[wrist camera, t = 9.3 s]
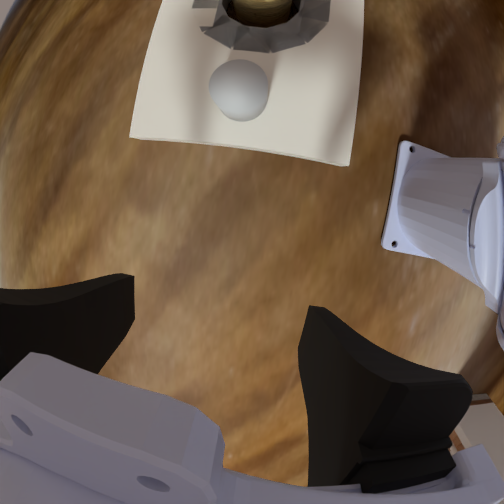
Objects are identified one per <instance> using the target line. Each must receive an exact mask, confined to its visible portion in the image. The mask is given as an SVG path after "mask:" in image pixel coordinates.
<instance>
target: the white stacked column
mask: <svg viewBox="0 0 504 504" xmlns="http://www.w3.org/2000/svg"><path fill="white" fill-rule="evenodd" d="M449 437H450V439H451V441H452V446H451V447H450V448H449V449H448V450H449V452H450V454H451V456H452V455H454V454H455V453H457V452H458V451H460V450H463V449H466V448H469V447H472V446H475V445H478V444H483V446H484V448H485V449H486V451H487V453H488V454H489V456H490V458H491V460H492V461H493V463H494V465H495V467H496V469H497V470H498V472H499V474H500V476H501V478H502V480H503V481H504V416H503V415H502V413H501V412H500V411H499V409H498V408H497V407H496V405H495V404H494V403H493V401H492V400H491V399H490V398H489V396H488V395H487V394H475V395H472V401H471V404H470V406H469V409H468V410H467V412H466V414H465V415H464V417H463V418H462V420H461V421H460V422H459V424H458V425H457V426H456V428H455V429H454V430H453V432H452V433H451V434H450V436H449ZM498 504H504V499H503V500H501V501H500V502H499V503H498Z"/></svg>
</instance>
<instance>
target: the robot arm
mask: <svg viewBox="0 0 504 504" xmlns="http://www.w3.org/2000/svg"><path fill="white" fill-rule="evenodd" d="M410 146H411V147H412V148H413V152H412V153H411V152H410V150H409V148H410ZM497 153H498V157H499V158H451V157H449V156H446V155H444V154H441V153H439V152H436V151H434V150H431V149H429V148H426V147H423V146H420V145H418V144H415V143H412V142H409V141H401V142H400V143H399V147H398V154H397V161H396V168H395V174H394V180H393V186H392V192H391V197H390V202H389V207H388V212H387V217H386V222H385V226H384V231H383V235H382V239H381V245H382V247H383V248H385V249H387V250H392V251H397V252H402V253H407V254H412V255H418V256H423V257H428V258H432V259H436V260H438V261H439V262H441V263H443V264H444V265H446V266H447V267H449V268H451V269H452V270H454V271H456V272H457V273H459V274H460V275H462V276H463V277H465V278H467V279H468V280H470V281H471V282H473V283H474V284H476V285H477V286H479V287H480V288H482V289H483V290H484V293H485V305H486V306H488V307H489V308H490V309H492V310H493V311H494V312H496V313H497V314H498V319H497V324H496V335H497V339H498V342H499V344H500V346H501V348H502V349H503V350H504V136H503V138H502V140H501V143H498V144H497ZM393 241H396V244H395V245H394V246H392V242H393ZM134 320H135V306H134V276H132V275H127V274H123V273H118V274H112V275H107V276H103V277H99V278H95V279H91V280H87V281H83V282H78V283H74V284H69V285H64V286H59V287H52V288H43V289H3V288H0V504H498V503H499V502H500V501H501V500H503V499H504V481H503V480H502V478H501V476H500V474H499V472H498V470H497V469H496V467H495V465H494V463H493V461H492V460H491V458H490V456H489V454H488V453H487V451H486V449H485V448H484V446H483V444H478V445H475V446H472V447H469V448H466V449H463V450H460V451H458V452H457V453H455V454H454V455H452V456H451V454H450V452H449V450H448V449H449V448H450V447H451V446H452V441H451V439H450V437H449V436H450V434H451V433H452V432H453V430H454V429H455V428H456V426H457V425H458V424H459V422H460V421H461V420H462V418H463V417H464V415H465V414H466V412H467V410H468V409H469V406H470V404H471V401H472V393H473V391H472V389H471V387H470V385H469V384H468V383H467V381H466V380H465V379H464V378H463V376H462V375H460V374H455V373H450V372H445V371H440V370H435V369H432V368H428V367H425V366H422V365H418V364H416V363H413V362H410V361H408V360H405V359H403V358H401V357H398V356H396V355H394V354H392V353H390V352H388V351H386V350H384V349H382V348H380V347H379V346H377V345H375V344H373V343H372V342H370V341H369V340H367V339H366V338H364V337H363V336H361V335H360V334H359V333H357V332H356V331H355V330H353V329H352V328H351V327H349V326H348V325H347V324H346V323H344V322H343V321H342V320H341V319H339V318H338V317H337V316H336V315H334V314H333V313H332V312H330V311H329V310H328V309H326V308H324V307H318V306H310V305H309V308H308V312H307V316H306V320H305V324H304V328H303V331H302V335H301V339H300V342H299V346H298V363H299V372H300V377H301V383H302V388H303V393H304V398H305V404H306V409H307V417H308V436H309V469H308V487H301V486H296V485H290V484H285V483H280V482H275V481H271V480H266V479H262V478H258V477H254V476H250V475H247V474H243V473H240V472H236V471H233V470H229V469H226V468H223V463H222V462H223V455H224V449H225V443H224V440H223V437H222V434H221V430H220V427H219V426H218V425H217V424H215V423H214V422H213V421H212V420H210V419H209V418H208V417H207V416H206V415H205V414H203V413H202V412H201V411H200V410H199V409H197V408H196V407H195V406H192V405H190V404H187V403H184V402H182V401H180V400H177V399H175V398H172V397H170V396H167V395H164V394H160V393H157V392H153V391H149V390H145V389H142V388H138V387H135V386H131V385H128V384H125V383H122V382H118V381H115V380H112V379H109V378H106V377H103V376H100V375H98V373H99V372H100V370H101V369H102V367H103V366H104V365H105V363H106V362H107V360H108V359H109V358H110V356H111V355H112V354H113V353H114V351H115V350H116V349H117V347H118V346H119V345H120V343H121V342H122V341H123V339H124V338H125V336H126V335H127V333H128V331H129V329H130V327H131V325H132V323H133V322H134Z"/></svg>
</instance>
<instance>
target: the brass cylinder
mask: <svg viewBox="0 0 504 504" xmlns="http://www.w3.org/2000/svg"><path fill="white" fill-rule="evenodd" d="M291 4H292V0H233V5H234V9H235V14H236V17H237V19H238V21H239V22H240V23H241V24H243V25H244V26H252V27H261V28H269V27H273V26H276V25H280V24H284V23H286V22H287V20H288V18H289V16H290V11H291Z"/></svg>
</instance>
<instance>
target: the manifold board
mask: <svg viewBox="0 0 504 504" xmlns="http://www.w3.org/2000/svg"><path fill="white" fill-rule="evenodd" d="M231 1H232V0H163V1H162V4H161V7H160V10H159V13H158V16H157V19H156V22H155V25H154V29H153V32H152V35H151V39H150V42H149V46H148V50H147V53H146V57H145V61H144V65H143V69H142V73H141V78H140V82H139V87H138V91H137V96H136V101H135V107H134V112H133V118H132V123H131V130H130V136H129V137H132V138H136V139H141V140H159V141H174V142H187V143H198V144H208V145H217V146H226V147H234V148H242V149H249V150H256V151H262V152H269V153H275V154H281V155H287V156H292V157H298V158H303V159H308V160H313V161H318V162H323V163H328V164H333V165H337V166H349V162H350V156H351V149H352V142H353V135H354V128H355V120H356V112H357V103H358V94H359V84H360V73H361V60H362V45H363V25H364V0H292V1H293V3H294V4H295V6H296V8H297V9H298V13H297V14H296V15H295V16H294V17H293V18H292V19H290V20H289V21H288V22H287V23H284V24H280V25H276V26H273V27H269V28H261V27H252V26H244V25H243V24H241V23H239V22H237V21H235V20H233V19H231V18H230V17H228V15H227V13H226V11H227V8H228V4H229V3H230V2H231Z"/></svg>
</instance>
